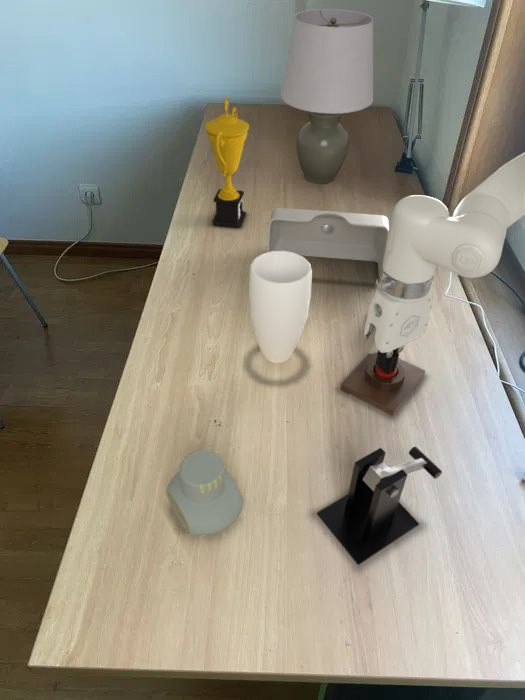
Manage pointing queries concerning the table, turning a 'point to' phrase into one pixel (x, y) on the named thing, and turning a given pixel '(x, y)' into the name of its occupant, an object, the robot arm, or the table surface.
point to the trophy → (228, 165)
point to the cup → (279, 302)
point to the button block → (382, 384)
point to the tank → (329, 234)
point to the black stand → (369, 512)
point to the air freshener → (204, 494)
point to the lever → (383, 471)
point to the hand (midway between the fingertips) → (385, 367)
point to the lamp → (327, 83)
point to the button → (383, 374)
